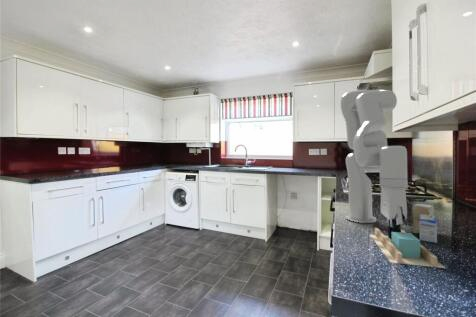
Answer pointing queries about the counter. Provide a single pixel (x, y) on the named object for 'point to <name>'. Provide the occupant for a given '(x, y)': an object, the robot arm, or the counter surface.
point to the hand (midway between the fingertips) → (394, 238)
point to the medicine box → (428, 228)
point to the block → (406, 244)
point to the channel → (396, 255)
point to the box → (417, 211)
